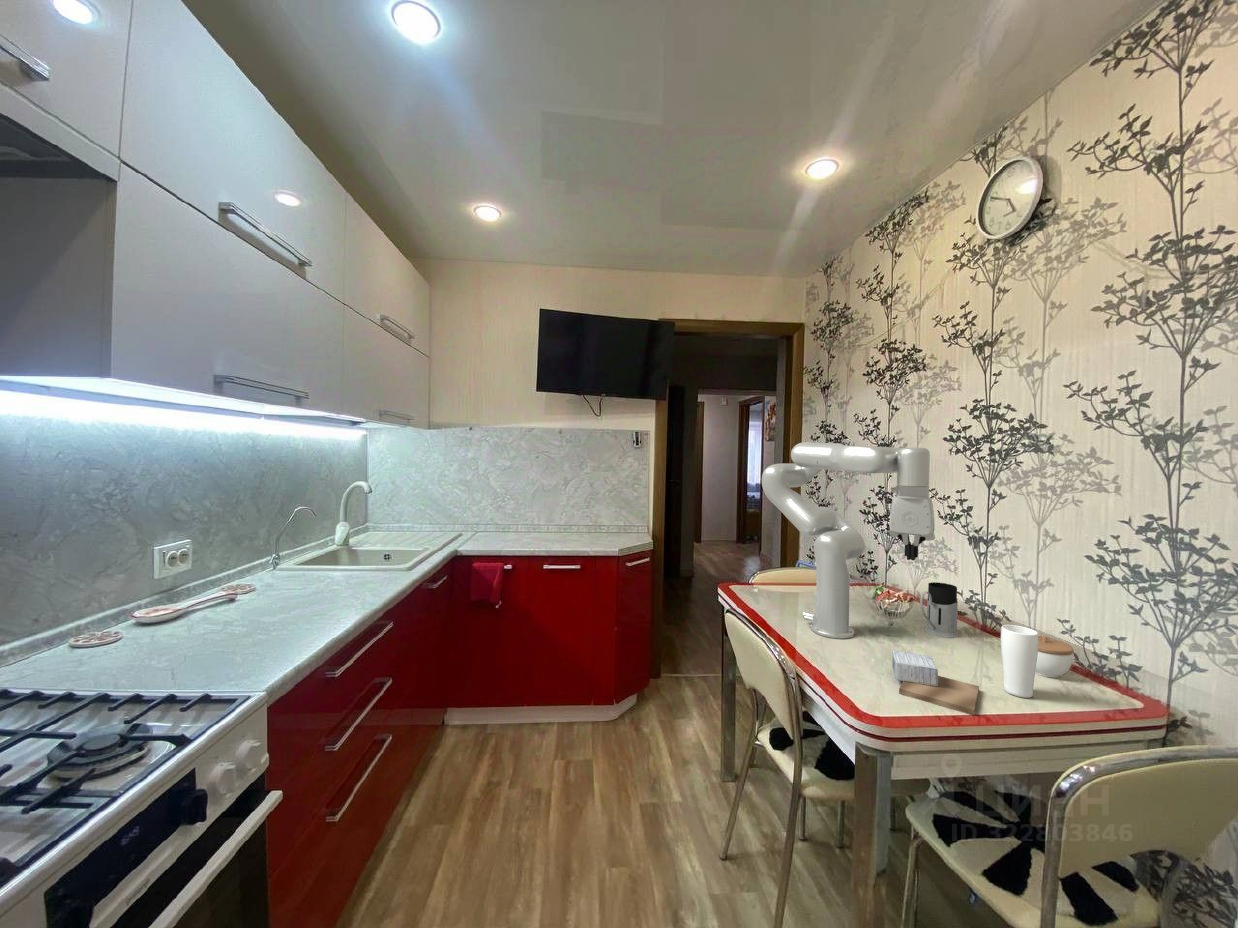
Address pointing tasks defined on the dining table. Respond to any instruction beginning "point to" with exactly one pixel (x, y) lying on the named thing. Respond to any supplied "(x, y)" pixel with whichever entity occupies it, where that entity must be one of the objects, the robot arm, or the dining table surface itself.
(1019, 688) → the white tall cup
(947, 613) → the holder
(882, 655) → the dining table surface
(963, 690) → the walnut board
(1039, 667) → the lidded jar
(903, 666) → the medicine box
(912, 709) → the dining table surface
